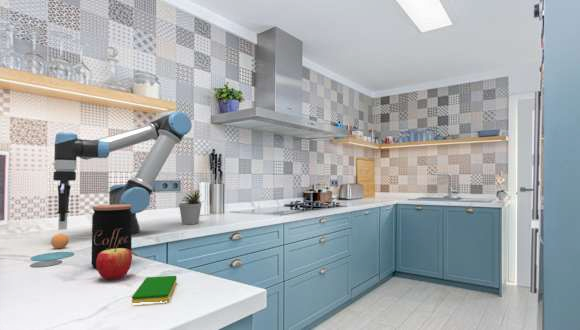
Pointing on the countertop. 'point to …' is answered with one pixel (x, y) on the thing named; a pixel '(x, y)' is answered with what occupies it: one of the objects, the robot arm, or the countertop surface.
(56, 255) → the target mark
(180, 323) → the countertop surface
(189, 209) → the potted plant
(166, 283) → the dish sponge
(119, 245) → the coffee jar
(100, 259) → the apple
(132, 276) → the countertop surface
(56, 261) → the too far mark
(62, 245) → the ball
